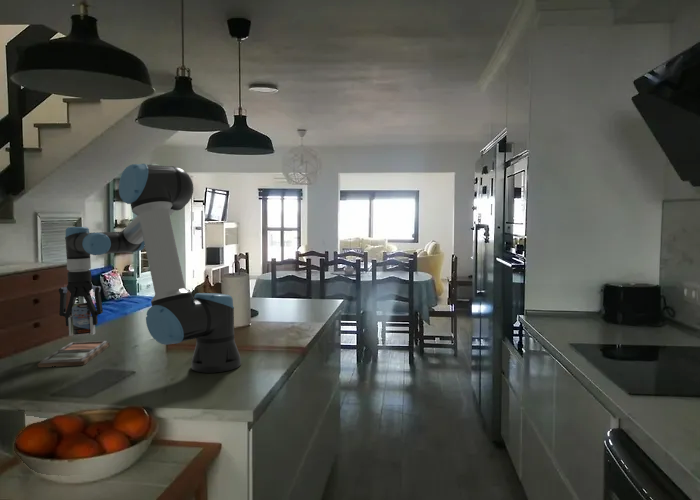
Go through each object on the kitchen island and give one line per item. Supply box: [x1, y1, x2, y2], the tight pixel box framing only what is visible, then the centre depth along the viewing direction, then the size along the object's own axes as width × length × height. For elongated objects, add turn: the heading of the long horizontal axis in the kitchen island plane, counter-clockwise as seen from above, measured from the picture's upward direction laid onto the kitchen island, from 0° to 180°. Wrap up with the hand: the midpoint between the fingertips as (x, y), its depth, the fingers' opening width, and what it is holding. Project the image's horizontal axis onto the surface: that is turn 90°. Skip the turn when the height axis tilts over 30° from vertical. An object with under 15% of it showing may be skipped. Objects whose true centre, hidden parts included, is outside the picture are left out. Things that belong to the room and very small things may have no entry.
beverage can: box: [71, 302, 92, 337], centre depth 189 cm, size 6×7×12 cm
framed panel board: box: [37, 340, 110, 368], centre depth 184 cm, size 26×14×2 cm, turn 7°
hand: (82, 334), depth 190 cm, fingers closed on beverage can, 6 cm apart
